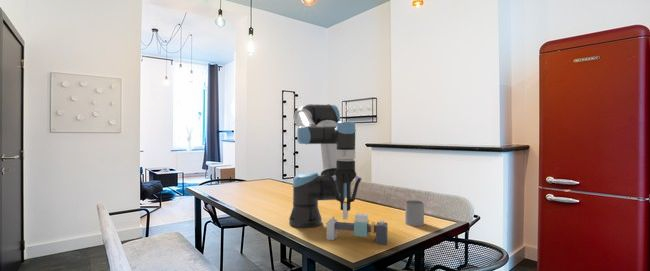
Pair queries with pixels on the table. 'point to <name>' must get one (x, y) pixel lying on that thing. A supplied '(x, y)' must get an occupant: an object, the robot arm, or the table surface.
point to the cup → (414, 213)
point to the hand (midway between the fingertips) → (345, 218)
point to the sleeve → (361, 225)
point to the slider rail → (333, 226)
